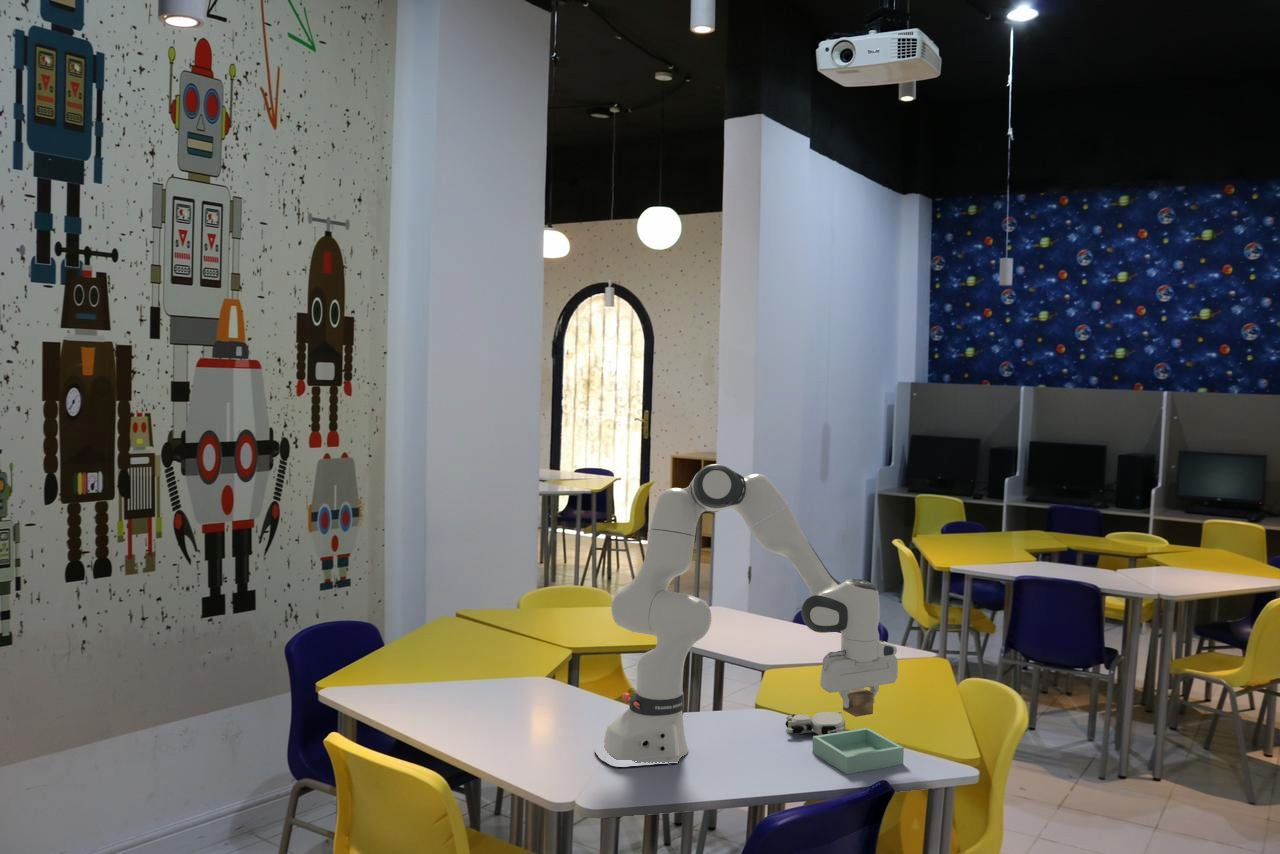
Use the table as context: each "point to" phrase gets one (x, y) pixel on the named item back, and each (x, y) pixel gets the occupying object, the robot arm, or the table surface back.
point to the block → (860, 702)
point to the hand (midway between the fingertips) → (858, 705)
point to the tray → (857, 750)
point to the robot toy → (816, 723)
